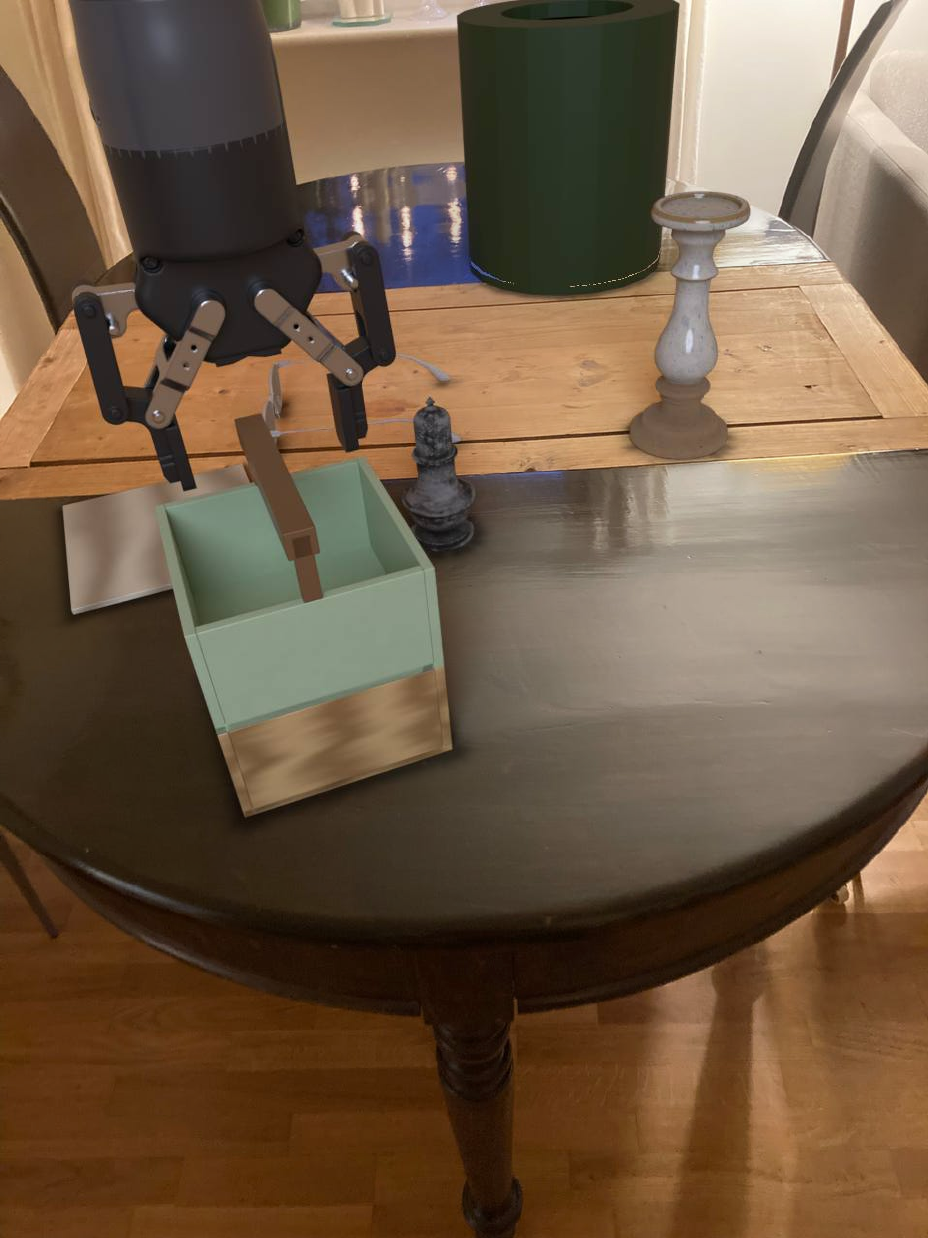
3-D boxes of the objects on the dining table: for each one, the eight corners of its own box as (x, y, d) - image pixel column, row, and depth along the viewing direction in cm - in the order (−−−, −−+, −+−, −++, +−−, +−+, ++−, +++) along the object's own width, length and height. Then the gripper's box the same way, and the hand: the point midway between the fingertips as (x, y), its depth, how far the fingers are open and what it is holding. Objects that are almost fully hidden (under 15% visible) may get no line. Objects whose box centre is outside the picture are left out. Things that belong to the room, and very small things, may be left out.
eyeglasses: (279, 392, 97) (272, 356, 94) (450, 376, 97) (447, 340, 95) (268, 466, 85) (260, 427, 82) (463, 447, 86) (460, 408, 83)
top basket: (217, 736, 49) (160, 566, 42) (183, 598, 59) (132, 440, 52) (444, 666, 52) (428, 497, 45) (378, 546, 62) (355, 391, 55)
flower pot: (537, 311, 109) (535, 35, 92) (435, 255, 127) (417, 14, 109) (700, 264, 118) (728, 4, 100) (585, 217, 136) (591, -12, 118)
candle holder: (722, 465, 80) (755, 223, 68) (621, 455, 83) (635, 219, 70) (730, 418, 87) (762, 189, 74) (637, 410, 89) (652, 186, 76)
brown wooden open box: (245, 818, 54) (217, 736, 49) (209, 678, 63) (183, 598, 59) (452, 749, 57) (444, 666, 52) (389, 626, 66) (378, 546, 62)
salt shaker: (394, 547, 74) (376, 410, 66) (422, 508, 78) (408, 375, 70) (463, 558, 72) (453, 420, 64) (487, 518, 76) (480, 383, 69)
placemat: (73, 615, 70) (71, 610, 69) (64, 510, 81) (62, 505, 81) (280, 560, 73) (279, 555, 73) (243, 467, 85) (242, 463, 85)
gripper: (10, 166, 33) (139, 535, 44) (384, 109, 37) (422, 464, 47) (10, 126, 39) (125, 463, 49) (336, 80, 42) (379, 404, 53)
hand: (270, 463), depth 48 cm, fingers open, 8 cm apart
